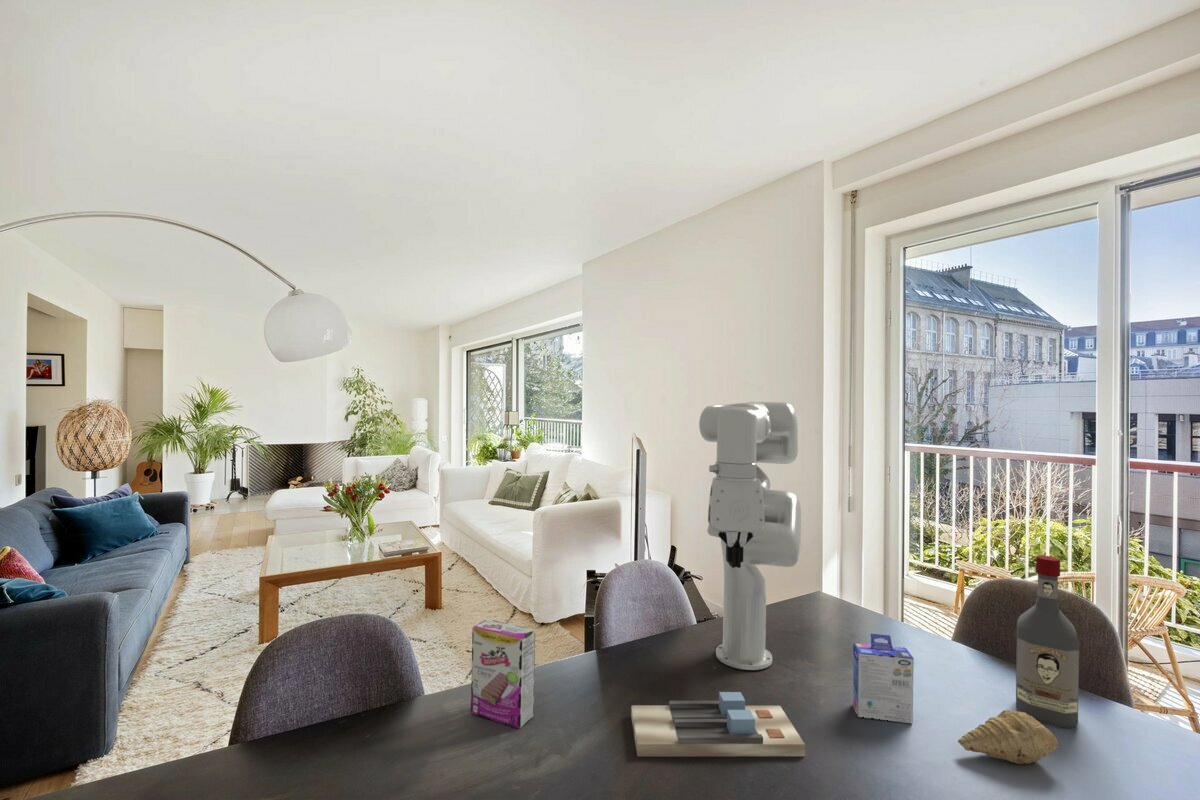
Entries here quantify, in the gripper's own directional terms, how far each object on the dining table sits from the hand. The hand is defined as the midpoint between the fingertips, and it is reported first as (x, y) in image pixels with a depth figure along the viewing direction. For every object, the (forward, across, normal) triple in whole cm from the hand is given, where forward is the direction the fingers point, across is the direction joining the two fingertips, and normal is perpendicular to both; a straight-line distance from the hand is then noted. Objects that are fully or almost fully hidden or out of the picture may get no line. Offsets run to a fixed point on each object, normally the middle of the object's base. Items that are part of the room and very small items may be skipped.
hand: (734, 565), depth 110 cm
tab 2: (+25, -2, -13) cm, 28 cm away
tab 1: (+25, -2, -7) cm, 26 cm away
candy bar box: (+27, -44, -4) cm, 52 cm away
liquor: (+27, +60, -3) cm, 66 cm away
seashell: (+27, +41, -17) cm, 52 cm away
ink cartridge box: (+27, +28, -3) cm, 39 cm away
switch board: (+27, -6, -10) cm, 30 cm away
